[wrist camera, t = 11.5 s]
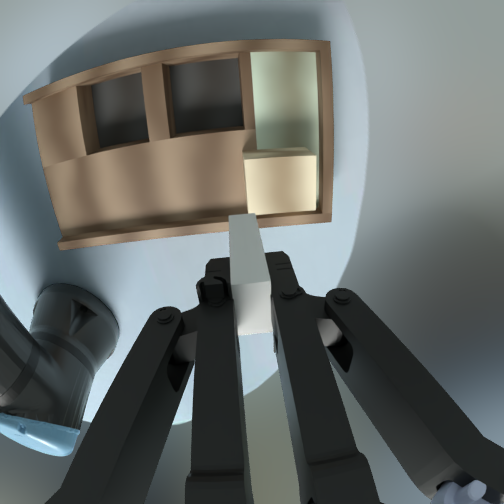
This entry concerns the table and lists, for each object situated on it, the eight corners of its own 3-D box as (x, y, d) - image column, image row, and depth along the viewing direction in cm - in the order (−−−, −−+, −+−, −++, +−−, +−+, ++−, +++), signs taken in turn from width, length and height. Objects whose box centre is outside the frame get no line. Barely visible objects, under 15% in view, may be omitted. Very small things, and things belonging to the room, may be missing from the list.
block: (245, 199, 29) (248, 215, 26) (242, 150, 27) (244, 159, 23) (305, 195, 30) (315, 210, 26) (304, 147, 27) (316, 155, 24)
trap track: (78, 229, 33) (59, 250, 29) (49, 92, 24) (22, 96, 19) (316, 202, 34) (331, 222, 30) (313, 48, 25) (330, 41, 20)
